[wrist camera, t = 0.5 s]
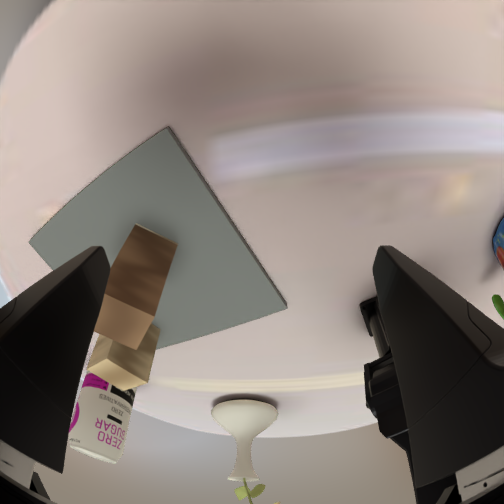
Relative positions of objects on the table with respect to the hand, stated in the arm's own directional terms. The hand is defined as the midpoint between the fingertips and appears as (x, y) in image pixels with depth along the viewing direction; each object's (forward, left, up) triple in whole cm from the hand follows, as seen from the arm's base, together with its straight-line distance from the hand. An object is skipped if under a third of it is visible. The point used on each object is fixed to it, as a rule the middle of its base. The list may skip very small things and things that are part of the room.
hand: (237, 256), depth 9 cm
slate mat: (-6, +14, -13) cm, 20 cm away
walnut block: (-4, +12, -13) cm, 18 cm away
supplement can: (-19, +34, -13) cm, 42 cm away
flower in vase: (-37, +20, -13) cm, 44 cm away
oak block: (-11, +21, -13) cm, 27 cm away
